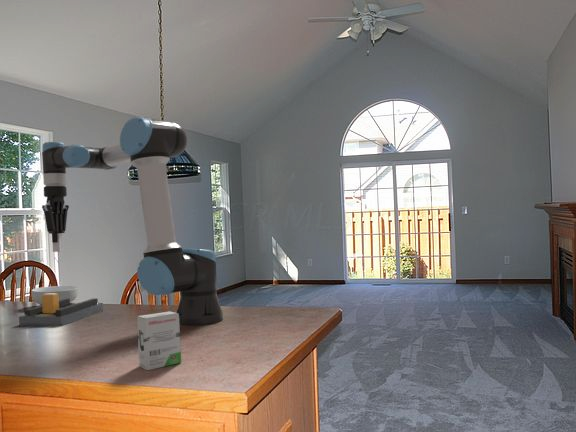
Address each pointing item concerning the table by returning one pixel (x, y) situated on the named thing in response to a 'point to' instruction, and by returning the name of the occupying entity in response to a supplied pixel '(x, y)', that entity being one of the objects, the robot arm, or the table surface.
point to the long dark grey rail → (76, 307)
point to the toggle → (50, 302)
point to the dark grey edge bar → (40, 308)
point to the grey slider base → (54, 320)
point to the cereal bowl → (63, 292)
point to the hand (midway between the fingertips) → (57, 251)
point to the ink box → (159, 340)
